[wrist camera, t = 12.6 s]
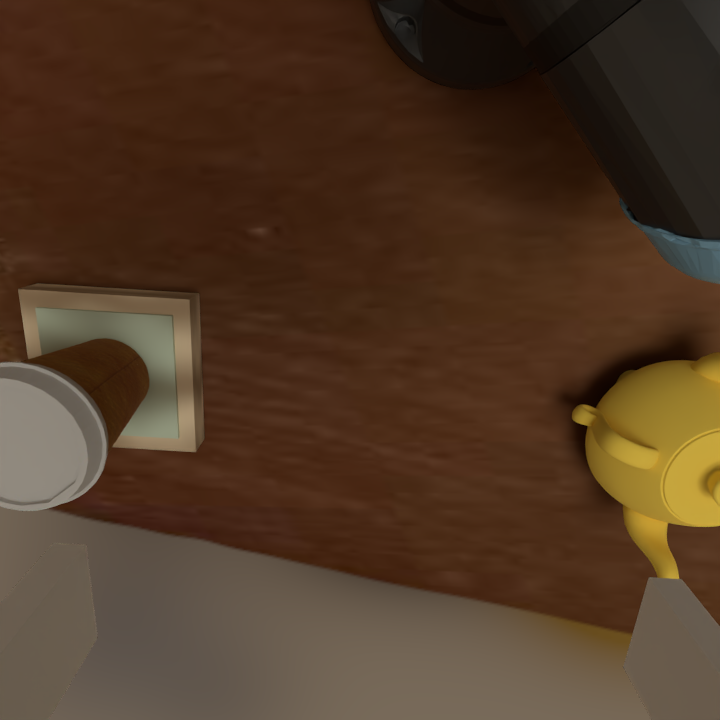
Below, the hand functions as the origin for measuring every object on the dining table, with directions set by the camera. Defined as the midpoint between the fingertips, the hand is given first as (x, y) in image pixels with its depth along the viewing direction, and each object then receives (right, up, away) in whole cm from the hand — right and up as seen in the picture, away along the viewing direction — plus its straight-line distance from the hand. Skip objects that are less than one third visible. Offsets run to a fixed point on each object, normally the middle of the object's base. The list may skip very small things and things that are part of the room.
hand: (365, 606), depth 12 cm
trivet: (-20, +5, +32) cm, 38 cm away
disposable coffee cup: (-20, +5, +29) cm, 36 cm away
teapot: (+24, +1, +33) cm, 41 cm away
